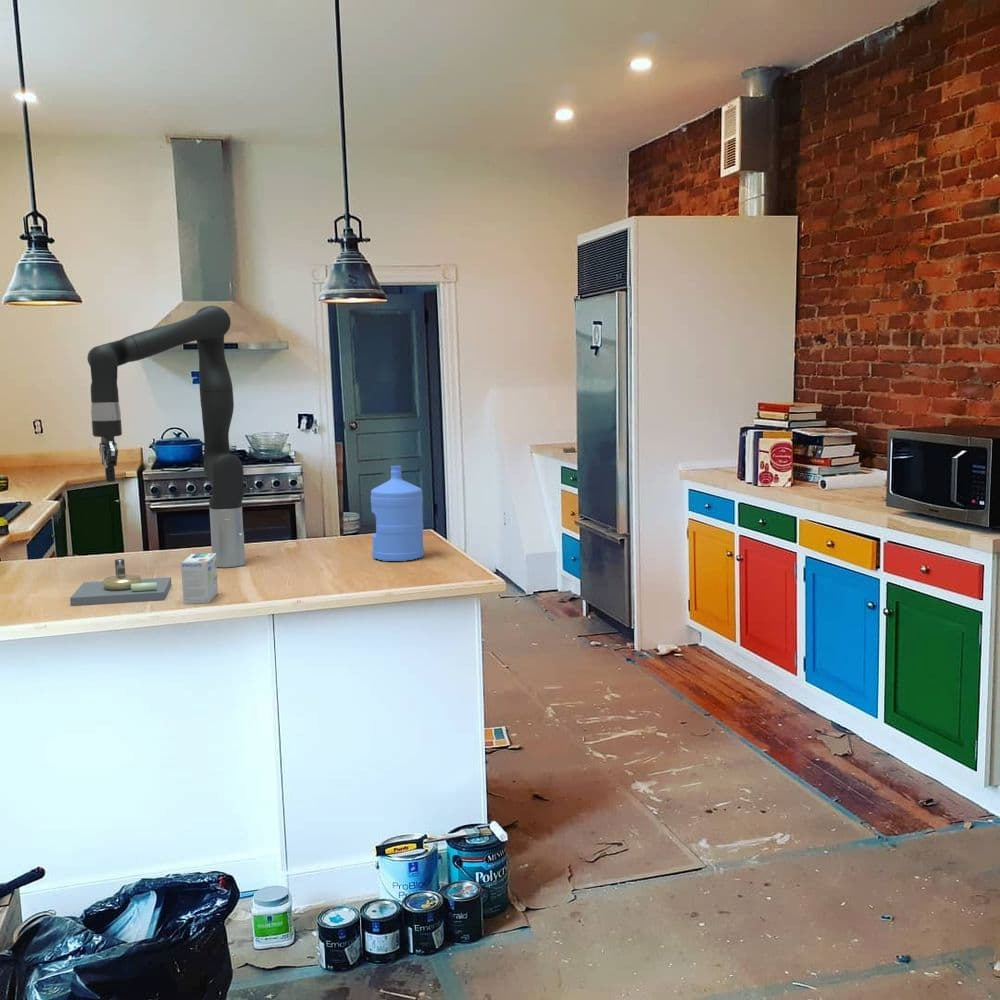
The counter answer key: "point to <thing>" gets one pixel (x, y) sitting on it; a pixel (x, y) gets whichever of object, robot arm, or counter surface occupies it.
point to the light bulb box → (199, 578)
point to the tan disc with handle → (120, 578)
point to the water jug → (397, 519)
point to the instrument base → (121, 592)
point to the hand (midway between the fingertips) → (110, 481)
